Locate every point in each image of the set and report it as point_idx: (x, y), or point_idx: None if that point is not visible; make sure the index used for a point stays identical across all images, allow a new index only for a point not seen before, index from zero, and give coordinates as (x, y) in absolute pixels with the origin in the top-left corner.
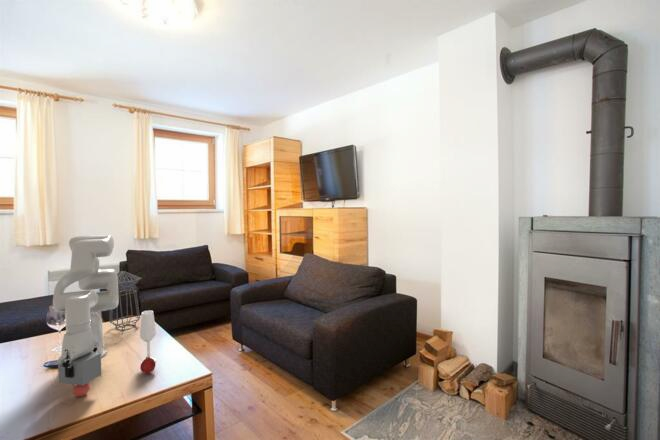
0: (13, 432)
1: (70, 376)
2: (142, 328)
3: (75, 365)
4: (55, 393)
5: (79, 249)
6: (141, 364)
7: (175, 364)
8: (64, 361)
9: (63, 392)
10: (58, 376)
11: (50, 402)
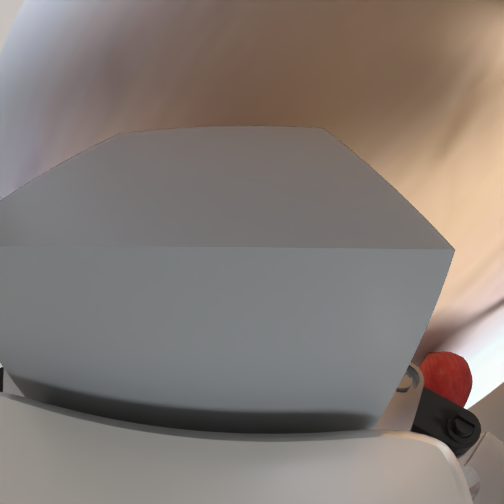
0: None
1: None
2: None
3: None
4: (215, 19)
5: None
6: (434, 391)
7: (473, 380)
8: (9, 362)
9: (236, 59)
10: (88, 150)
11: (129, 95)
